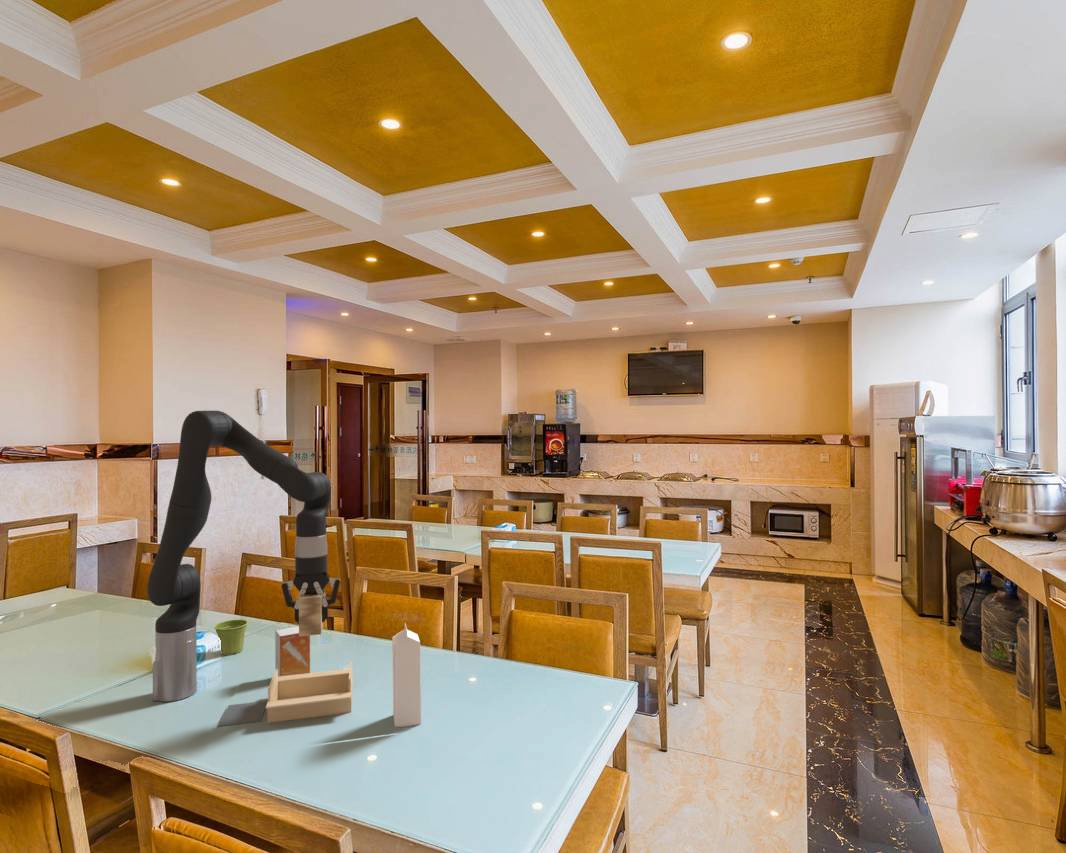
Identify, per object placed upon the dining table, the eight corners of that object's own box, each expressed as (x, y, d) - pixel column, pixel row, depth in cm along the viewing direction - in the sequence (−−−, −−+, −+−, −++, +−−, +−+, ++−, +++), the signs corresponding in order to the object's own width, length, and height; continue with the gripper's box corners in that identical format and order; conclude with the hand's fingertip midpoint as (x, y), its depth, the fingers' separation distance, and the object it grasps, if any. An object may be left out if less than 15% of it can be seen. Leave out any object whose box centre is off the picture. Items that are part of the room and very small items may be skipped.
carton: (265, 729, 138) (265, 694, 138) (277, 696, 155) (277, 664, 155) (350, 718, 143) (350, 684, 143) (353, 687, 160) (352, 657, 160)
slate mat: (218, 728, 138) (218, 725, 138) (228, 707, 149) (228, 705, 149) (260, 723, 141) (260, 720, 141) (268, 703, 151) (268, 700, 151)
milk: (394, 728, 137) (393, 631, 138) (393, 716, 143) (391, 623, 143) (421, 724, 139) (420, 628, 139) (419, 712, 145) (417, 620, 145)
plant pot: (238, 657, 183) (238, 628, 183) (208, 657, 183) (208, 628, 183) (253, 646, 193) (253, 619, 193) (224, 646, 193) (224, 619, 193)
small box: (279, 684, 162) (279, 636, 163) (275, 677, 168) (274, 630, 168) (310, 677, 167) (310, 630, 167) (305, 670, 172) (305, 624, 172)
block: (298, 636, 145) (298, 598, 145) (302, 626, 152) (302, 590, 152) (321, 634, 146) (320, 596, 146) (323, 624, 154) (323, 588, 154)
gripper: (278, 558, 144) (278, 629, 144) (341, 554, 148) (341, 624, 147) (282, 552, 151) (282, 620, 151) (342, 548, 155) (342, 615, 155)
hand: (311, 621), depth 149 cm, fingers closed on block, 5 cm apart
